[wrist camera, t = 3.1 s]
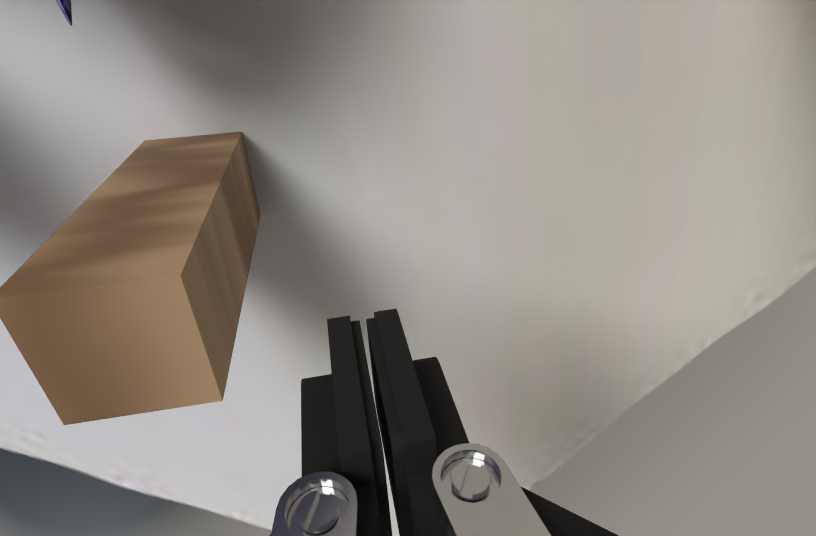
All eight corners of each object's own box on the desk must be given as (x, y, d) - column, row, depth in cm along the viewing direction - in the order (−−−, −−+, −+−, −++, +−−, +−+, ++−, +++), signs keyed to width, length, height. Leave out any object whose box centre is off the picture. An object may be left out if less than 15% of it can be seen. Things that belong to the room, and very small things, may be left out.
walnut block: (241, 131, 21) (180, 275, 11) (260, 215, 23) (222, 400, 13) (144, 140, 21) (-11, 299, 11) (172, 225, 23) (63, 425, 13)
